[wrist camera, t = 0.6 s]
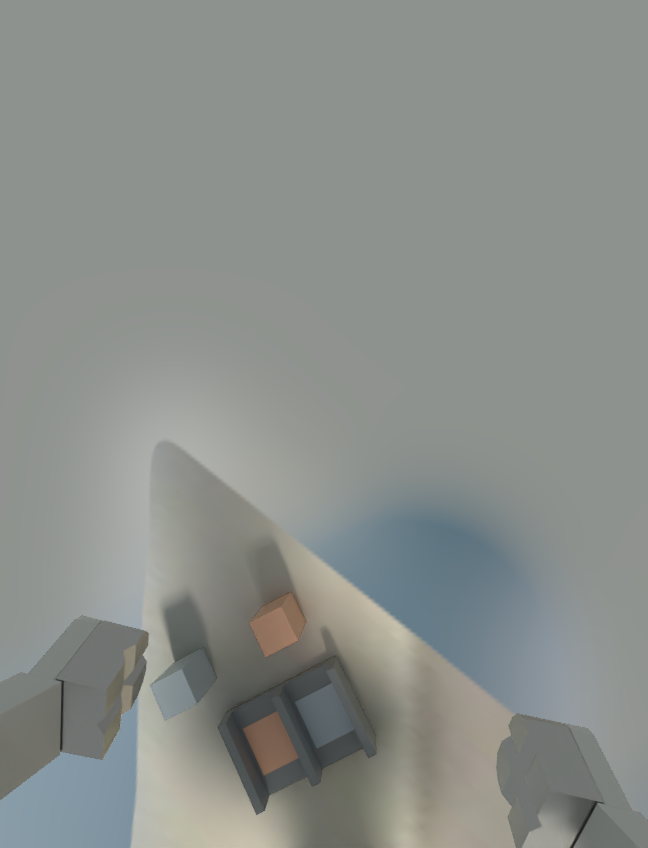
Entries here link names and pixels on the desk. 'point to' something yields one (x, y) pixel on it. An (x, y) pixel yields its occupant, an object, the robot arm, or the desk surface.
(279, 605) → the terracotta plug
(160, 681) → the slate-blue plug
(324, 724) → the slot dock
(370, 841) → the desk surface
